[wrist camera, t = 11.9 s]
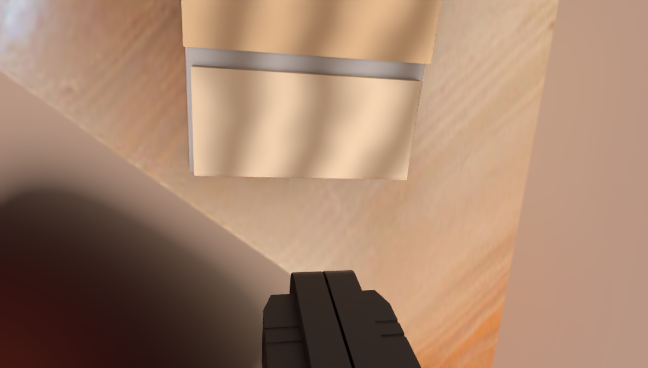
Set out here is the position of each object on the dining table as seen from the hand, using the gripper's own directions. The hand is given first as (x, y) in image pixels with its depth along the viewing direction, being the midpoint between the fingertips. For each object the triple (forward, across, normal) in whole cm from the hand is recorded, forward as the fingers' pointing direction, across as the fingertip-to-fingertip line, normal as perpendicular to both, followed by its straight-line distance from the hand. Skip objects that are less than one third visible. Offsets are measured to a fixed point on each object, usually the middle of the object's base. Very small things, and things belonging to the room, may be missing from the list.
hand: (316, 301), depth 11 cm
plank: (+26, -4, +3) cm, 26 cm away
